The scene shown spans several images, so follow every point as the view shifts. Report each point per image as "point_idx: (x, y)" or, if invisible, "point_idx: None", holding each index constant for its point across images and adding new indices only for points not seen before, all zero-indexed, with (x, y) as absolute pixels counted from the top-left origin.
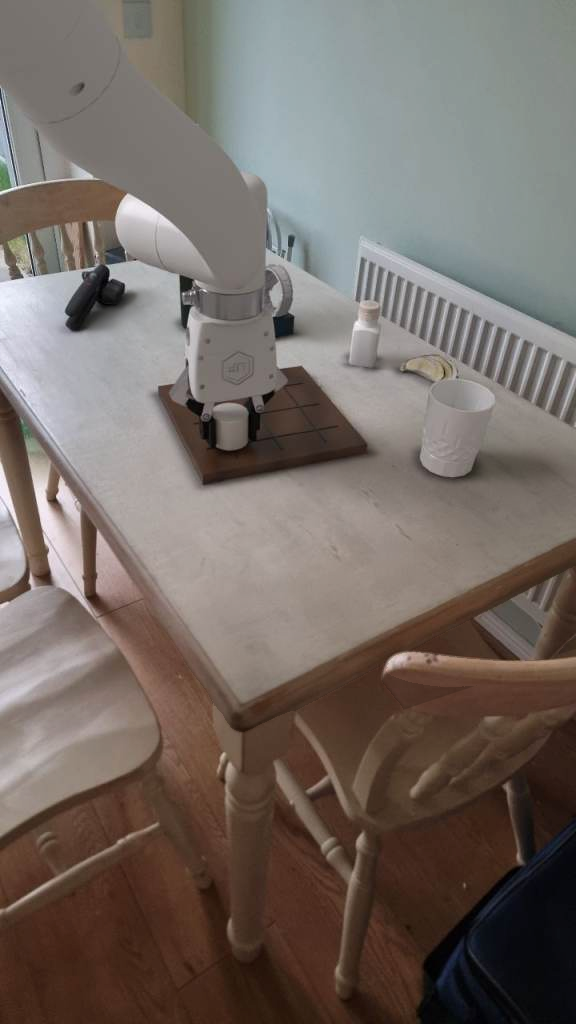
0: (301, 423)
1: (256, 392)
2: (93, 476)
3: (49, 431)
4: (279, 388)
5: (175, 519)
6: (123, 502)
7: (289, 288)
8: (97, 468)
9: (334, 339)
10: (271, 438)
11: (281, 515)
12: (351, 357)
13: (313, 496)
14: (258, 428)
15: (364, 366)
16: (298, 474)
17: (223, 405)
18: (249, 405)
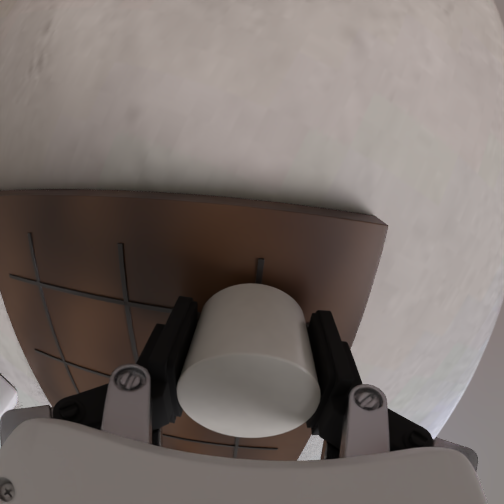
0: (63, 317)
1: (111, 460)
2: (488, 318)
3: (451, 413)
4: (36, 409)
5: (466, 134)
6: (500, 235)
7: None
8: (474, 336)
9: None
10: (134, 300)
11: (241, 18)
12: (11, 397)
13: (128, 62)
14: (159, 326)
15: (3, 378)
16: (119, 157)
17: (250, 432)
18: (165, 406)
